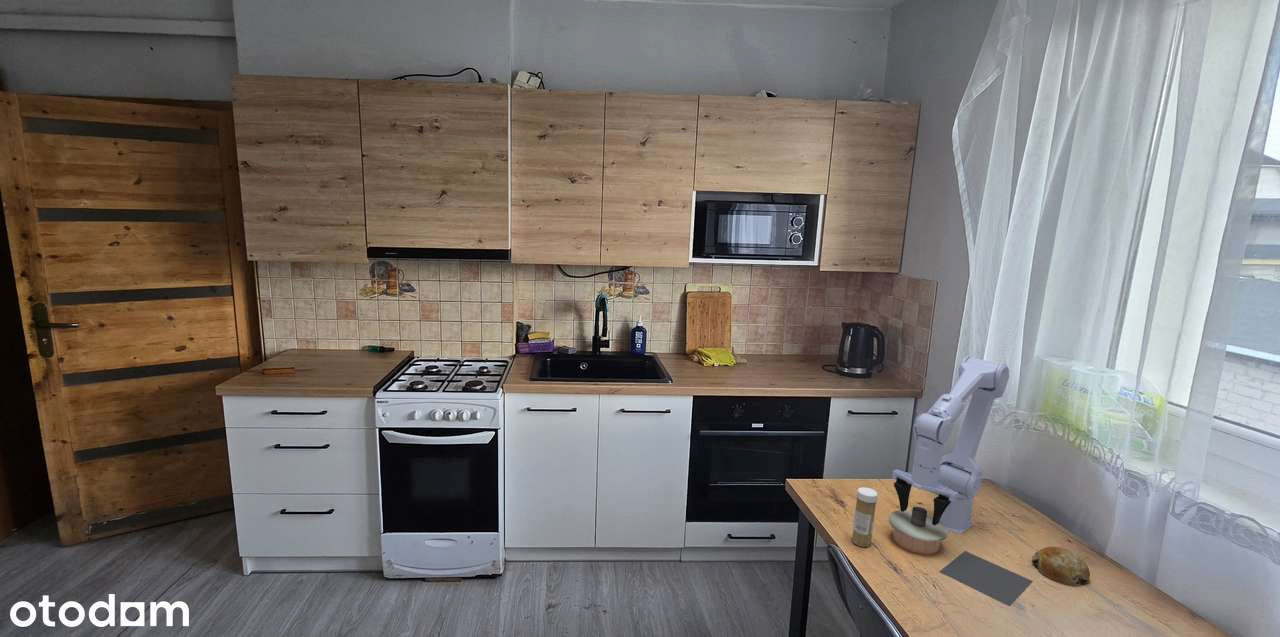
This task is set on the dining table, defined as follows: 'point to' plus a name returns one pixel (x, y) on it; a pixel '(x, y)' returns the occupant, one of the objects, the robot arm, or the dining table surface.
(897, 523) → the lid
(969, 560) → the mat
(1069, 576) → the bread roll
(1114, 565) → the dining table surface
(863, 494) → the sprinkles bottle
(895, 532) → the bowl
